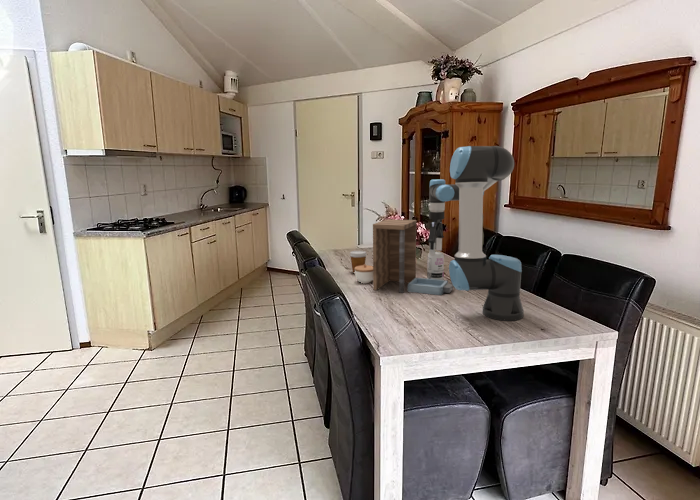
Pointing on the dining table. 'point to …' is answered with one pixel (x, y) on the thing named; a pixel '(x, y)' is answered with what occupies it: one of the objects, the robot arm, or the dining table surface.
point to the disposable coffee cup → (357, 258)
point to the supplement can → (435, 266)
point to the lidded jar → (364, 273)
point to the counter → (394, 252)
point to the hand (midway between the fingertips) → (435, 253)
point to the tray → (429, 286)
